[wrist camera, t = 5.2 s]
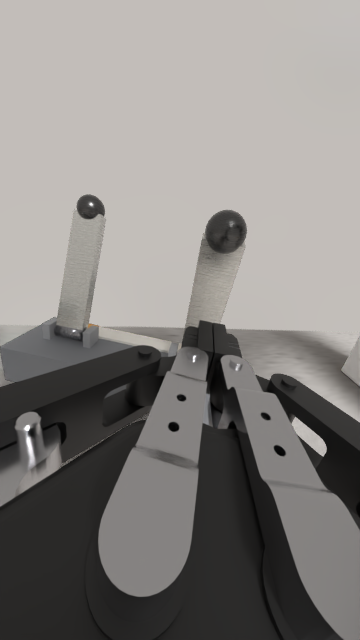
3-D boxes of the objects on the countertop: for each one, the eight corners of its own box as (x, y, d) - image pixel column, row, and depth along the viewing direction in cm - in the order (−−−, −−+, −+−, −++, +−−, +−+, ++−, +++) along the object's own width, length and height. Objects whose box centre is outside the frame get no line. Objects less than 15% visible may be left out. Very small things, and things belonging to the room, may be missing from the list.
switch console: (224, 380, 29) (235, 343, 27) (230, 430, 22) (246, 385, 19) (54, 344, 30) (52, 305, 28) (5, 379, 23) (-4, 330, 20)
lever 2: (206, 355, 25) (252, 209, 15) (204, 375, 23) (256, 221, 13) (181, 350, 25) (209, 202, 15) (176, 369, 23) (206, 212, 13)
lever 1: (89, 339, 26) (111, 204, 24) (76, 343, 23) (101, 191, 22) (65, 334, 26) (86, 200, 24) (49, 337, 23) (72, 186, 22)
